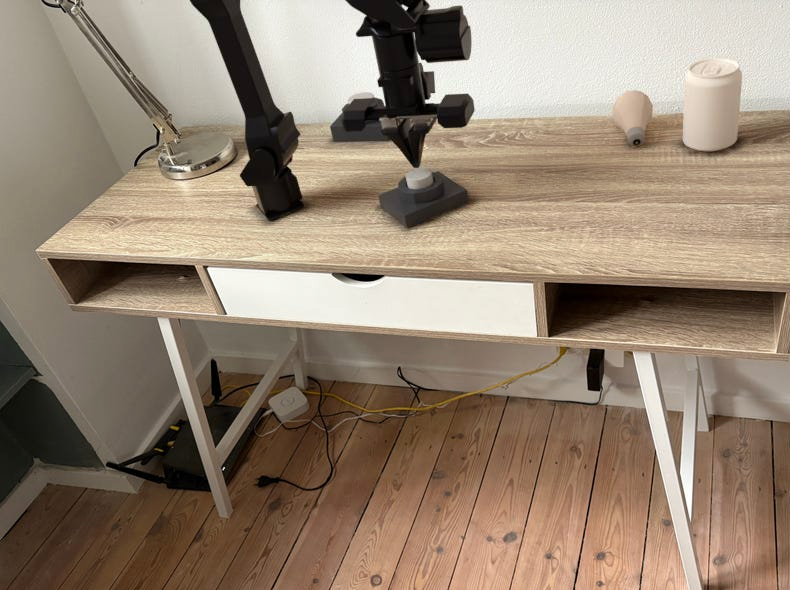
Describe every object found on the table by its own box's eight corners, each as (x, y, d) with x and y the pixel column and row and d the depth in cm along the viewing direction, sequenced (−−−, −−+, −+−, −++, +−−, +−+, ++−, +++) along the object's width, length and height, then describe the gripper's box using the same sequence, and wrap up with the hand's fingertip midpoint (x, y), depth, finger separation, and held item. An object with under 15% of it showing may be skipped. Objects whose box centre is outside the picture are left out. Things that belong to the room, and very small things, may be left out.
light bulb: (654, 121, 127) (647, 76, 133) (611, 132, 129) (606, 88, 135) (661, 152, 132) (654, 108, 138) (620, 163, 134) (614, 118, 140)
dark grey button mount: (402, 121, 154) (397, 96, 151) (388, 140, 149) (382, 114, 146) (349, 123, 158) (343, 97, 155) (333, 141, 152) (327, 116, 149)
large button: (379, 102, 151) (377, 91, 150) (370, 113, 148) (368, 102, 147) (355, 103, 153) (353, 92, 152) (346, 114, 150) (343, 103, 148)
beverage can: (743, 134, 129) (750, 58, 122) (727, 157, 124) (733, 79, 117) (692, 129, 133) (696, 55, 126) (675, 151, 128) (677, 75, 121)
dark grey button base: (407, 228, 123) (402, 205, 120) (380, 207, 129) (375, 184, 127) (469, 202, 126) (465, 178, 124) (440, 183, 133) (436, 160, 130)
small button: (415, 193, 123) (413, 182, 122) (403, 184, 126) (401, 174, 125) (438, 183, 125) (436, 173, 123) (425, 175, 127) (423, 165, 126)
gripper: (476, 39, 117) (488, 141, 127) (355, 47, 123) (376, 144, 132) (457, 69, 109) (472, 175, 119) (329, 76, 115) (353, 177, 124)
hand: (417, 166), depth 124 cm, fingers closed
